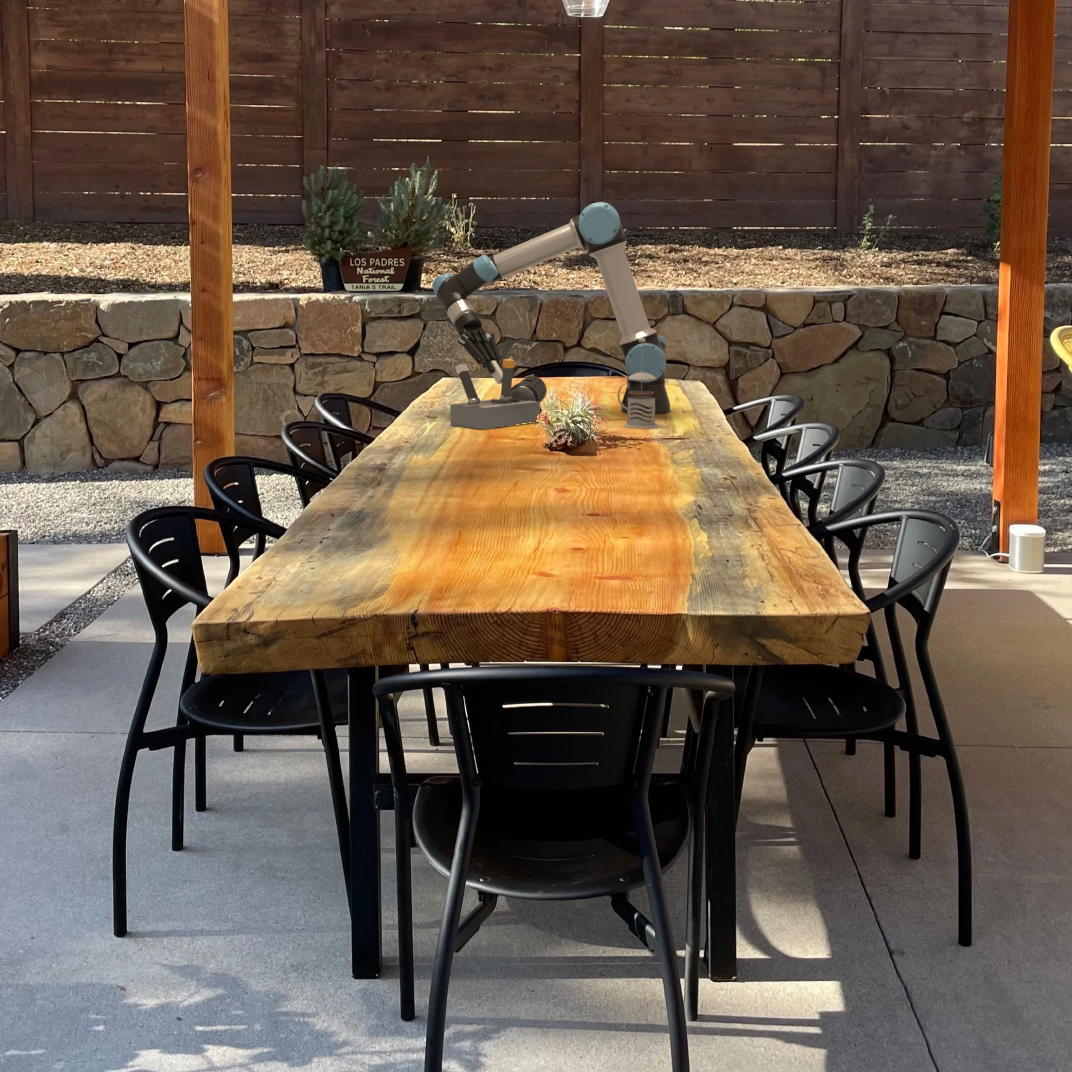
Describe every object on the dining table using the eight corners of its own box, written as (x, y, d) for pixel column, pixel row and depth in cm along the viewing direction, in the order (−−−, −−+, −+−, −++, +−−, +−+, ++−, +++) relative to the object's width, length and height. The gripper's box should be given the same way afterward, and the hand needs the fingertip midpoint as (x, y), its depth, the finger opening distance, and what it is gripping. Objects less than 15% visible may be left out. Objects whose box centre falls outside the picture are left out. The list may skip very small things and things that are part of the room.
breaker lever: (506, 399, 396) (510, 358, 392) (511, 401, 395) (515, 360, 391) (499, 400, 394) (502, 359, 390) (503, 402, 393) (507, 360, 389)
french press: (656, 429, 381) (657, 339, 376) (615, 428, 383) (615, 338, 378) (660, 424, 390) (661, 336, 385) (620, 423, 393) (620, 336, 387)
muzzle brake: (547, 407, 432) (547, 375, 430) (537, 419, 405) (537, 384, 402) (517, 407, 433) (517, 375, 431) (505, 418, 406) (505, 384, 403)
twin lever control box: (507, 418, 405) (506, 359, 402) (539, 422, 396) (539, 362, 392) (450, 425, 391) (449, 364, 387) (482, 429, 381) (481, 367, 377)
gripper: (475, 326, 409) (512, 387, 401) (441, 328, 400) (478, 390, 392) (487, 309, 404) (524, 371, 396) (453, 311, 395) (490, 373, 387)
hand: (501, 380), depth 394 cm, fingers closed
